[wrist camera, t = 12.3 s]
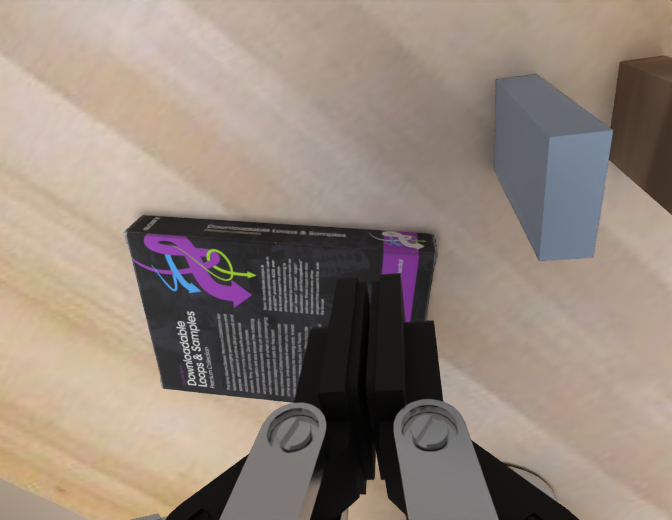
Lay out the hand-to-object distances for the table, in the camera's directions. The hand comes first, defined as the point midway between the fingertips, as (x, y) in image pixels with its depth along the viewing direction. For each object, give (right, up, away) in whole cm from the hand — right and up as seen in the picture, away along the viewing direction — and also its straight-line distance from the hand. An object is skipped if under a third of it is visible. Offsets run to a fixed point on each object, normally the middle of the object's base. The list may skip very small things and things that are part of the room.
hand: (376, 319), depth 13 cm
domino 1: (+9, +9, +13) cm, 18 cm away
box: (-4, -1, +22) cm, 22 cm away
